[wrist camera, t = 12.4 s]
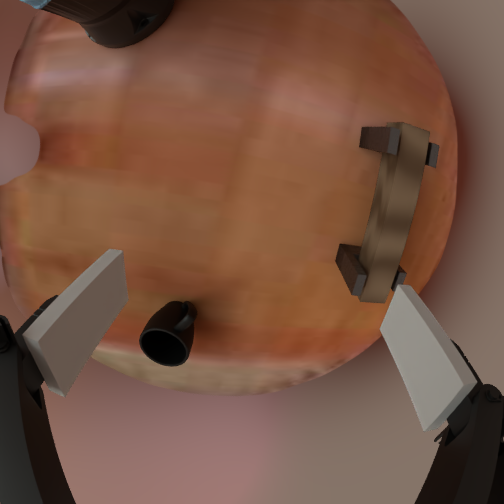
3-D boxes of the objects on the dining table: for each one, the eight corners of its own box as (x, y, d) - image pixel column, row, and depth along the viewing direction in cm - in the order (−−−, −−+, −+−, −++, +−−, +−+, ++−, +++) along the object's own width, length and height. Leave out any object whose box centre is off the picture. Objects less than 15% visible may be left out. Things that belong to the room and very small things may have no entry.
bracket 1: (362, 127, 35) (391, 126, 25) (411, 141, 35) (447, 147, 25) (359, 146, 36) (387, 152, 27) (408, 160, 36) (443, 170, 27)
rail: (386, 122, 31) (403, 122, 26) (411, 130, 31) (429, 132, 26) (351, 283, 41) (360, 301, 36) (373, 285, 41) (384, 303, 36)
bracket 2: (339, 243, 42) (358, 274, 33) (386, 250, 42) (412, 280, 33) (335, 261, 43) (351, 295, 34) (381, 266, 43) (405, 299, 34)
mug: (223, 302, 47) (214, 338, 38) (183, 337, 51) (171, 373, 42) (185, 272, 45) (168, 304, 36) (149, 312, 49) (130, 345, 40)
